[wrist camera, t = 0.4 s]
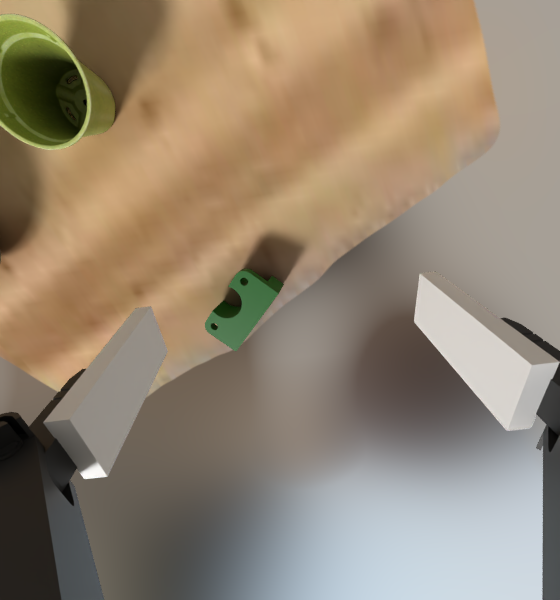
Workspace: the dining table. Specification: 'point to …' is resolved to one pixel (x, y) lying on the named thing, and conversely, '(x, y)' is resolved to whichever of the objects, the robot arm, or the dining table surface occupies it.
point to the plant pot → (47, 88)
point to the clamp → (242, 308)
